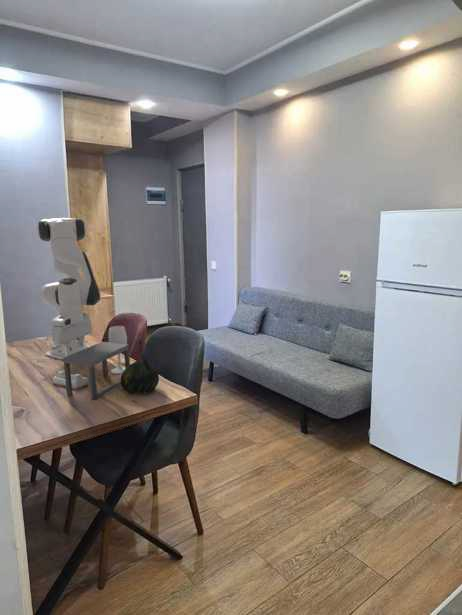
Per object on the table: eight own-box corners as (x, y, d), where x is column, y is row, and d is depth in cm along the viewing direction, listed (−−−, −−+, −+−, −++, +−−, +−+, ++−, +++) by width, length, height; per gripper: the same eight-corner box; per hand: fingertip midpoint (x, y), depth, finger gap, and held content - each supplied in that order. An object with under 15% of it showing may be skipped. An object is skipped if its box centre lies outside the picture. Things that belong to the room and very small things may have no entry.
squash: (113, 376, 175) (122, 356, 165) (146, 369, 184) (156, 350, 174) (124, 406, 168) (134, 387, 158) (157, 397, 177) (169, 379, 168)
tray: (53, 383, 183) (52, 373, 182) (64, 378, 188) (63, 368, 187) (76, 389, 176) (75, 378, 175) (87, 384, 181) (86, 373, 180)
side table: (67, 395, 170) (63, 358, 166) (105, 375, 191) (102, 341, 188) (95, 400, 164) (91, 361, 161) (131, 379, 186) (128, 344, 183)
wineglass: (124, 374, 192) (121, 330, 187) (107, 373, 193) (103, 329, 189) (132, 368, 200) (129, 325, 196) (115, 367, 202) (112, 325, 197)
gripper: (82, 311, 187) (85, 341, 190) (47, 322, 168) (51, 355, 171) (94, 312, 185) (96, 343, 187) (59, 323, 166) (63, 356, 169)
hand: (74, 348), depth 179 cm, fingers open, 6 cm apart
